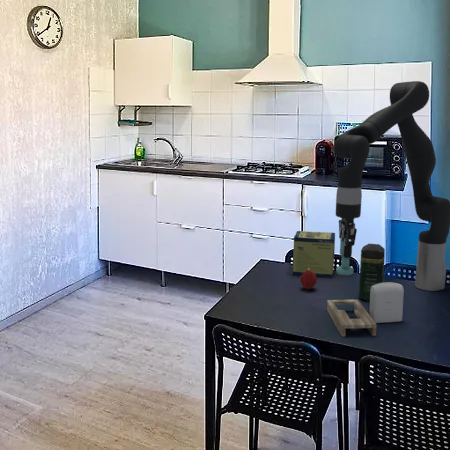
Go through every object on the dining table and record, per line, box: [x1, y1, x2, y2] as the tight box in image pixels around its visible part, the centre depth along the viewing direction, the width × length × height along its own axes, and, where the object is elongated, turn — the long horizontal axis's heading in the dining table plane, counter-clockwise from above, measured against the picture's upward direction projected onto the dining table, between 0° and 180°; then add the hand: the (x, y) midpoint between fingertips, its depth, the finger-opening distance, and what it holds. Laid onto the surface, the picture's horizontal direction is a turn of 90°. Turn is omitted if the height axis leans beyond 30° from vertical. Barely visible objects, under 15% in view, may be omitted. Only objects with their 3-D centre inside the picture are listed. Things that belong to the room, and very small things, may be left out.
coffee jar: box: [358, 243, 386, 302], centre depth 188 cm, size 10×8×19 cm
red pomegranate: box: [299, 268, 318, 290], centre depth 197 cm, size 6×6×8 cm
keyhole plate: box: [326, 299, 378, 337], centre depth 169 cm, size 10×20×4 cm, turn 2°
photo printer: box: [368, 281, 405, 324], centre depth 169 cm, size 10×4×12 cm, turn 96°
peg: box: [335, 240, 354, 276], centre depth 171 cm, size 5×5×10 cm
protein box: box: [292, 230, 336, 279], centre depth 215 cm, size 10×16×16 cm
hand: (345, 255), depth 171 cm, fingers closed on peg, 3 cm apart
